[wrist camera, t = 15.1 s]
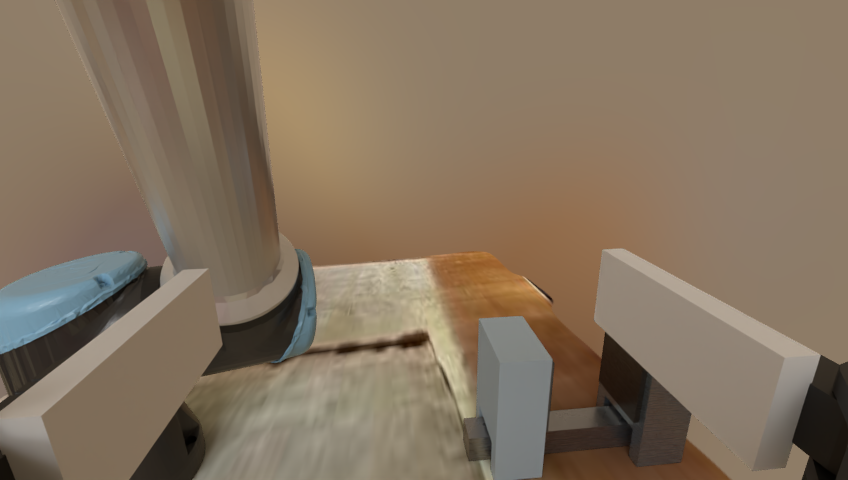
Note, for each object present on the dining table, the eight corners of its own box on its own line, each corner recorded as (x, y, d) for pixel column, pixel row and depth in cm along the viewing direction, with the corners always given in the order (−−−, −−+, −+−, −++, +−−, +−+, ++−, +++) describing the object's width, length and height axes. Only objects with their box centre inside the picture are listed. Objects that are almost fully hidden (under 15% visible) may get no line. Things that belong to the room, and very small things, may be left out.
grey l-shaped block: (474, 483, 41) (478, 364, 37) (458, 422, 49) (460, 319, 45) (680, 462, 43) (705, 347, 39) (632, 407, 51) (649, 307, 47)
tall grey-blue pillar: (547, 476, 42) (558, 358, 38) (494, 481, 41) (499, 363, 37) (520, 417, 50) (527, 315, 46) (476, 421, 49) (479, 318, 45)
